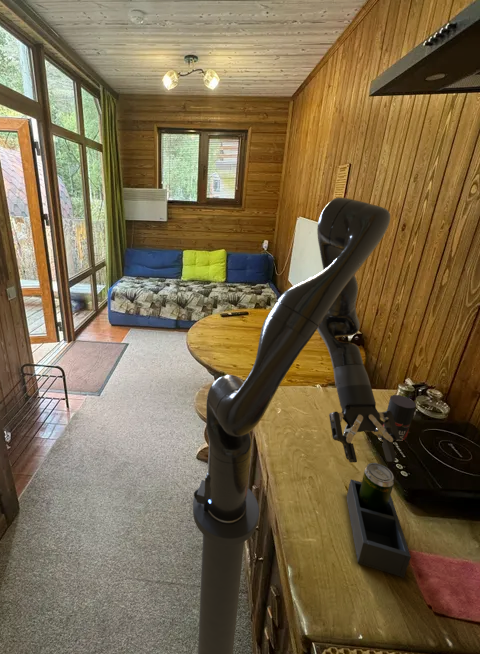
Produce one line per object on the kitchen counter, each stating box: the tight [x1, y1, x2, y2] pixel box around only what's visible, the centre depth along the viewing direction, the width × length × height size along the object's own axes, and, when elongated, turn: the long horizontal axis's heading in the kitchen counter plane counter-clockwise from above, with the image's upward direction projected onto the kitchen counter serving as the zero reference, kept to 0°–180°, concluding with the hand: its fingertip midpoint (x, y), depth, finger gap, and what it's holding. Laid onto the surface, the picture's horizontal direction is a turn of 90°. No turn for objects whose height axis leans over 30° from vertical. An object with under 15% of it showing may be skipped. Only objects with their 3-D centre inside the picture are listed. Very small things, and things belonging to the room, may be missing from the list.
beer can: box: [358, 462, 395, 514], centre depth 66 cm, size 5×5×12 cm
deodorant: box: [382, 394, 417, 441], centre depth 87 cm, size 6×6×15 cm
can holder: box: [345, 479, 412, 578], centre depth 64 cm, size 8×15×6 cm, turn 162°
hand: (372, 461), depth 67 cm, fingers open, 8 cm apart
